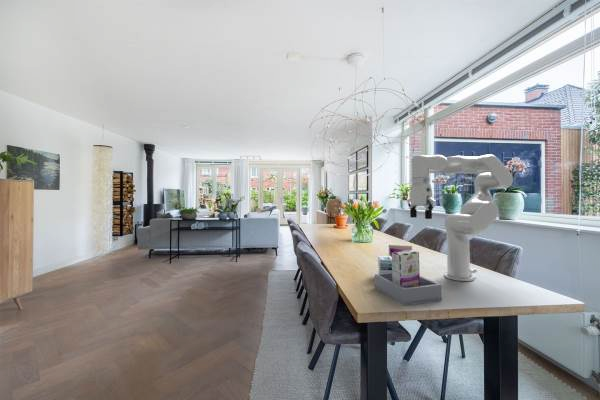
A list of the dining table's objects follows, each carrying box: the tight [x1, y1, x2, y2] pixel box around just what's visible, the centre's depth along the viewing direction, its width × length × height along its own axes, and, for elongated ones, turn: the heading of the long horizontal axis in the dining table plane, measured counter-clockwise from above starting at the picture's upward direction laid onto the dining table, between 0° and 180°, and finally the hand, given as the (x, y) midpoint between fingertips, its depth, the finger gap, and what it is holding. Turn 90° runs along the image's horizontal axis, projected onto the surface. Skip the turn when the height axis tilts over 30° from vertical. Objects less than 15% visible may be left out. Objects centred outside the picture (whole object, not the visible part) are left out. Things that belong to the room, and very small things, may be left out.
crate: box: [374, 273, 443, 306], centre depth 107 cm, size 17×20×6 cm
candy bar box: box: [392, 249, 421, 288], centre depth 107 cm, size 11×5×16 cm, turn 115°
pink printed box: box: [388, 244, 413, 256], centre depth 133 cm, size 11×7×15 cm, turn 33°
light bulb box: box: [377, 254, 392, 274], centre depth 126 cm, size 11×7×11 cm, turn 168°
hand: (420, 218), depth 121 cm, fingers open, 9 cm apart
